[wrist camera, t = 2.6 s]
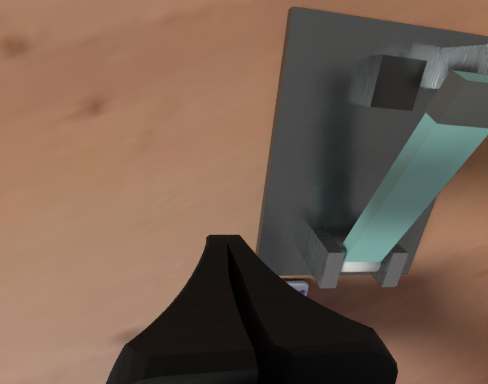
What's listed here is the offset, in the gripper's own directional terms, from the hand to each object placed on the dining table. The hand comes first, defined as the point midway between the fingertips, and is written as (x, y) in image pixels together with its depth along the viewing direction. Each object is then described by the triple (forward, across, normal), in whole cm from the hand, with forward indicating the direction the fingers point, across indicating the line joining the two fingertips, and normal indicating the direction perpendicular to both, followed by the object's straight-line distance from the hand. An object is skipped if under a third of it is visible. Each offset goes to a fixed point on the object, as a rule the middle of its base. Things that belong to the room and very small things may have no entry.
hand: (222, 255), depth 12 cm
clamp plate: (+10, -11, -1) cm, 15 cm away
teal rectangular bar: (+5, -11, -1) cm, 12 cm away
